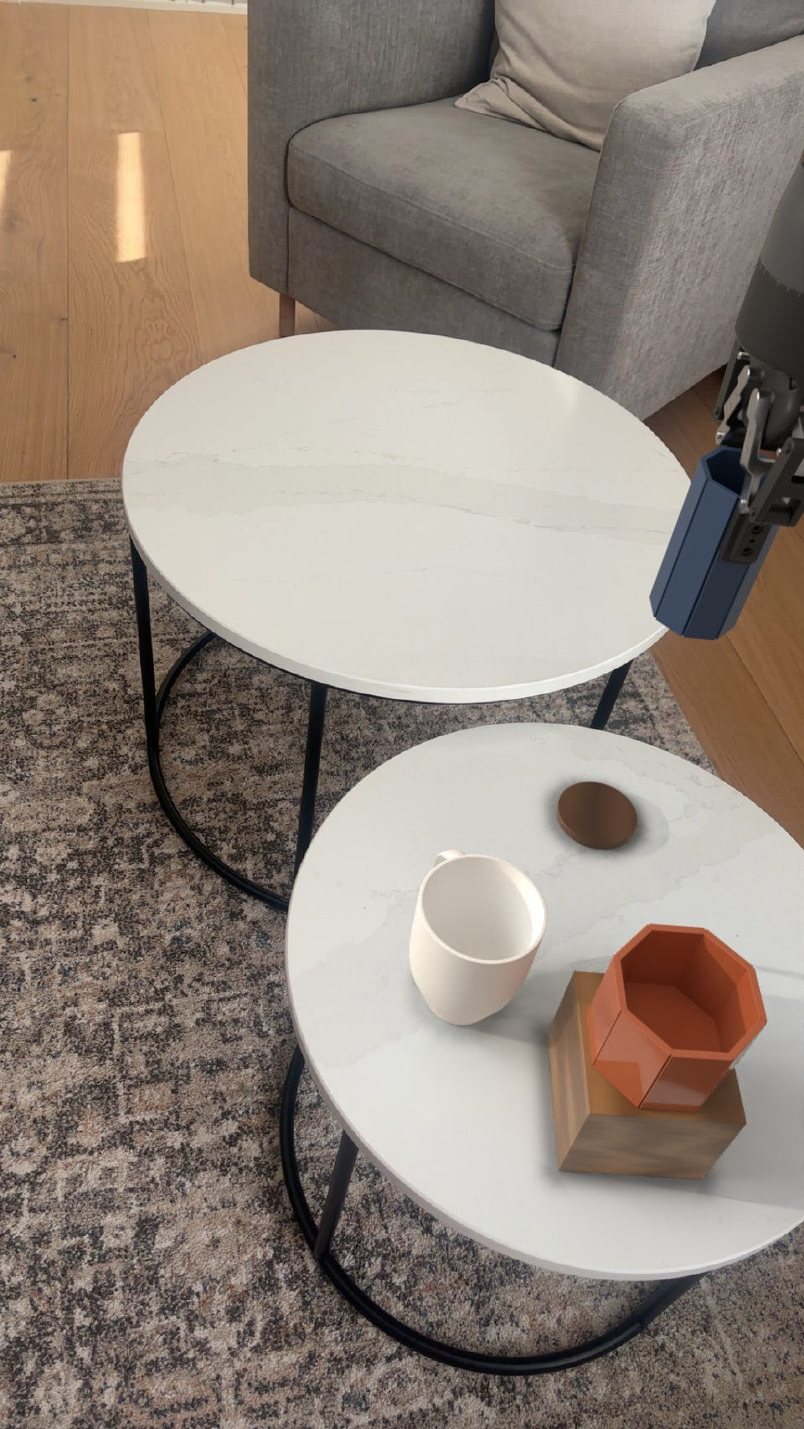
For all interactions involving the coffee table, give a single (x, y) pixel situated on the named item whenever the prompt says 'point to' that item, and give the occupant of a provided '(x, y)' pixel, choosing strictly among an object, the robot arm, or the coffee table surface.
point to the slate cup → (706, 554)
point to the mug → (474, 935)
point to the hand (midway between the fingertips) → (726, 528)
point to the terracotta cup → (673, 1017)
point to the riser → (626, 1109)
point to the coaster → (596, 815)
